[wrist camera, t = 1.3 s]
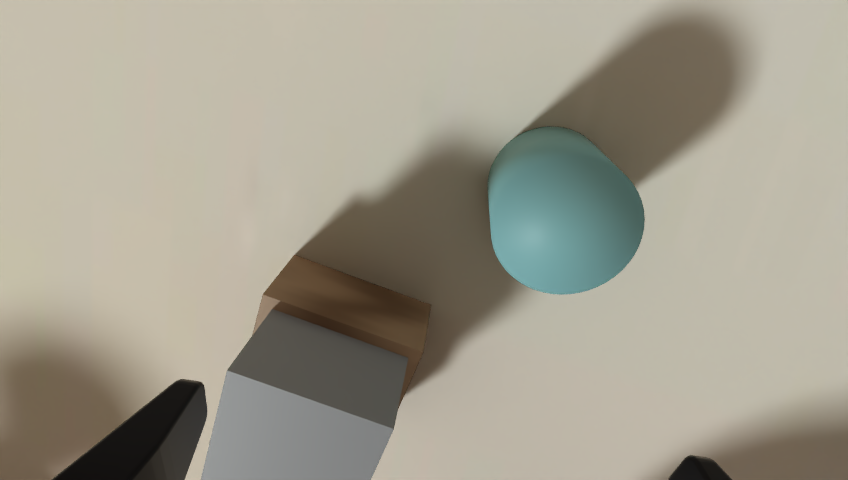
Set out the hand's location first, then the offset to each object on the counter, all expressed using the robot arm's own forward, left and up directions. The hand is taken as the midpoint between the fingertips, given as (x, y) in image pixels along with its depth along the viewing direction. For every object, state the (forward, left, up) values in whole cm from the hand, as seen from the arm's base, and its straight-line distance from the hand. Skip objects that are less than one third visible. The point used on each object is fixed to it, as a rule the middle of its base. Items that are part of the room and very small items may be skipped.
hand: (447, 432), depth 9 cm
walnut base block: (+3, +9, -14) cm, 17 cm away
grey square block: (+3, +9, -10) cm, 14 cm away
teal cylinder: (-3, -2, -14) cm, 14 cm away
